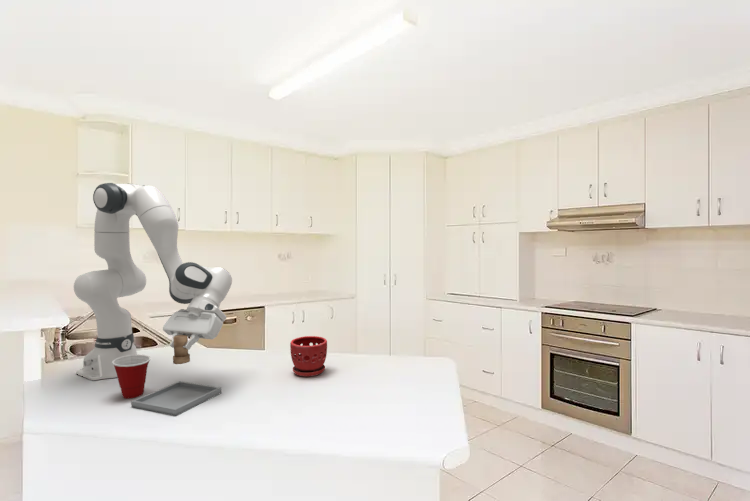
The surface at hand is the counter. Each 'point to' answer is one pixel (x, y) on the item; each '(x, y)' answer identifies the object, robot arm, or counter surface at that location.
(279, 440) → the counter surface
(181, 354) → the walnut pestle
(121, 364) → the plastic cup
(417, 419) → the counter surface
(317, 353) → the plant pot
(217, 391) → the grey tray
